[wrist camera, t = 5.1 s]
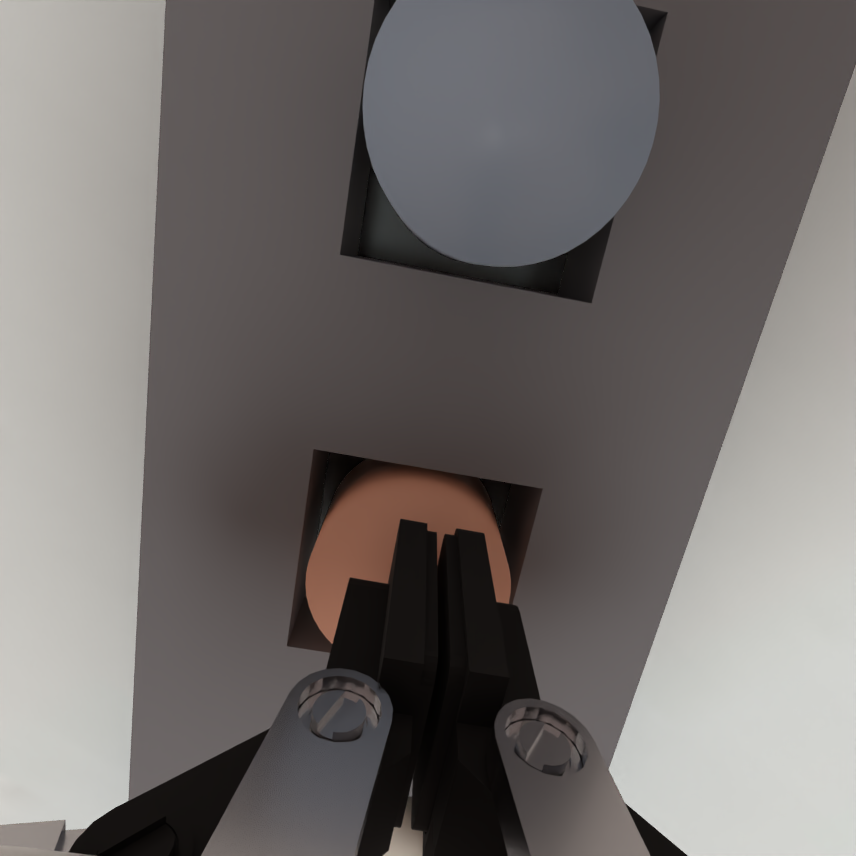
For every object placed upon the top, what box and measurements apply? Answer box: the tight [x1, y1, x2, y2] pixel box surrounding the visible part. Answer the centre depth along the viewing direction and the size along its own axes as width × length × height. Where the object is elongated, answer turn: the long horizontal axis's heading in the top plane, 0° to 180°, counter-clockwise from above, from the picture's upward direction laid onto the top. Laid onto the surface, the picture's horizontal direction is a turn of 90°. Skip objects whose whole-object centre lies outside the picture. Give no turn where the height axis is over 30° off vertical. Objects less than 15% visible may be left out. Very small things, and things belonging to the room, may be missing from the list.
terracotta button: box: [305, 458, 511, 644], centre depth 14 cm, size 4×4×3 cm
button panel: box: [129, 0, 856, 800], centre depth 14 cm, size 12×28×3 cm, turn 169°
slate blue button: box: [363, 0, 660, 267], centre depth 10 cm, size 4×4×3 cm
